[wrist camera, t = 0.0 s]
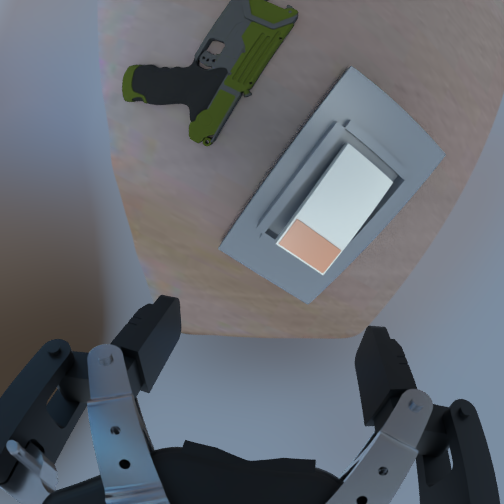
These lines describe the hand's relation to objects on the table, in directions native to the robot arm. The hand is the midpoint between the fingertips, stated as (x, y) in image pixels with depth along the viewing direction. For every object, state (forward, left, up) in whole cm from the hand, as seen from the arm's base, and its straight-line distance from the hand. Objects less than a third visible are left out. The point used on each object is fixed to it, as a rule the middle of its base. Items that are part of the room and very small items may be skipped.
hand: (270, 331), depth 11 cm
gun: (-8, -16, -23) cm, 29 cm away
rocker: (-1, +5, -17) cm, 18 cm away
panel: (-1, +5, -22) cm, 23 cm away
